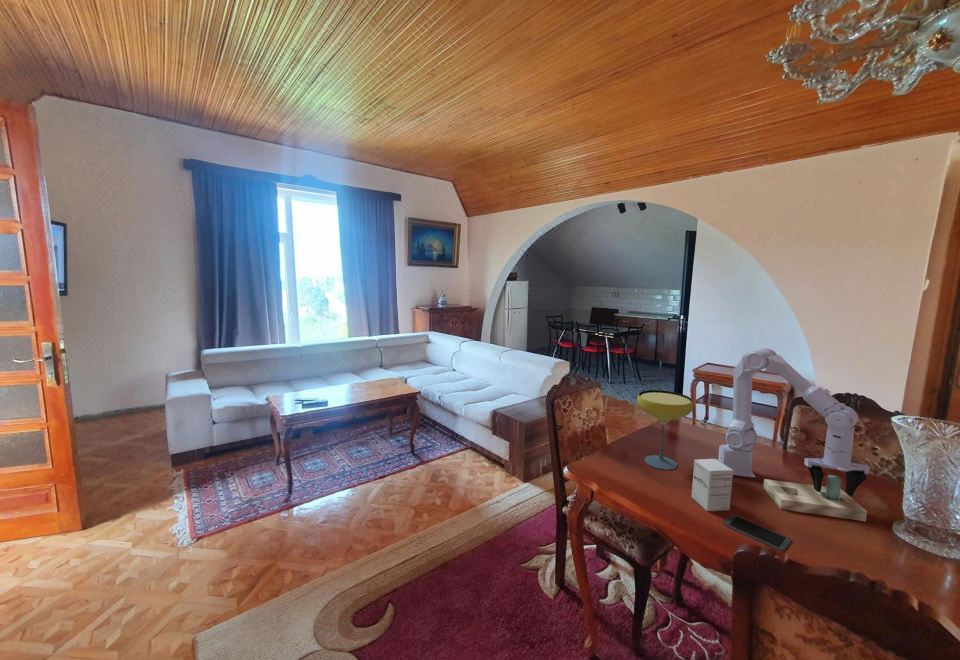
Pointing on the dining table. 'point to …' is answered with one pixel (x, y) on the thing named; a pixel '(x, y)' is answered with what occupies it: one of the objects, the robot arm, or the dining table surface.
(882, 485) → the dining table surface
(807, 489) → the hole block
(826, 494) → the peg
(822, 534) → the dining table surface
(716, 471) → the supplement box
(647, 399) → the cocktail glass
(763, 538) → the cell phone
